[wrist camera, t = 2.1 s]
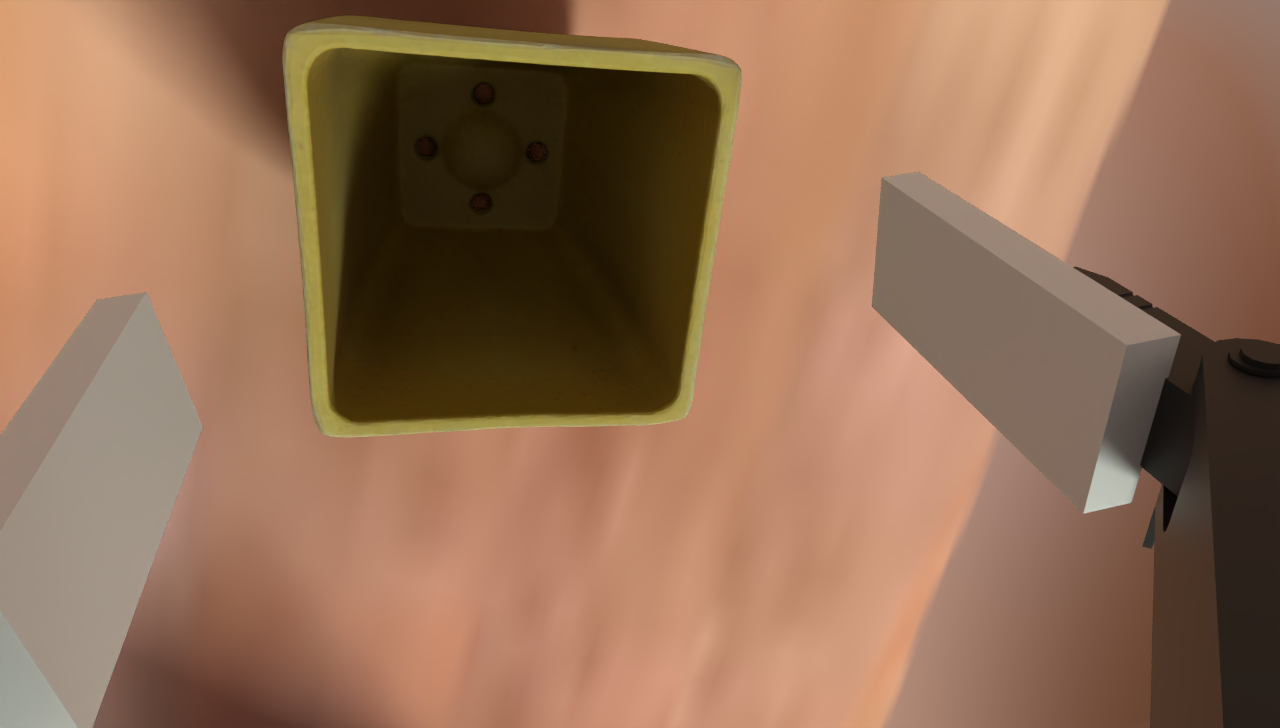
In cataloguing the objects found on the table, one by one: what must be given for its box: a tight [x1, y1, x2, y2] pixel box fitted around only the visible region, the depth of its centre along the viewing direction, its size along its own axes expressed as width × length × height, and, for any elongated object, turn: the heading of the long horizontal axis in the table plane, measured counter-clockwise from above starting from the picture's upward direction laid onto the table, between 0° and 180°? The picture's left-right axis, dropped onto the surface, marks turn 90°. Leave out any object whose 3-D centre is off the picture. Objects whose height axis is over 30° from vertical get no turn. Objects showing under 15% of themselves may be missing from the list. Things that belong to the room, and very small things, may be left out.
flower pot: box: [282, 15, 741, 437], centre depth 22 cm, size 9×9×9 cm
